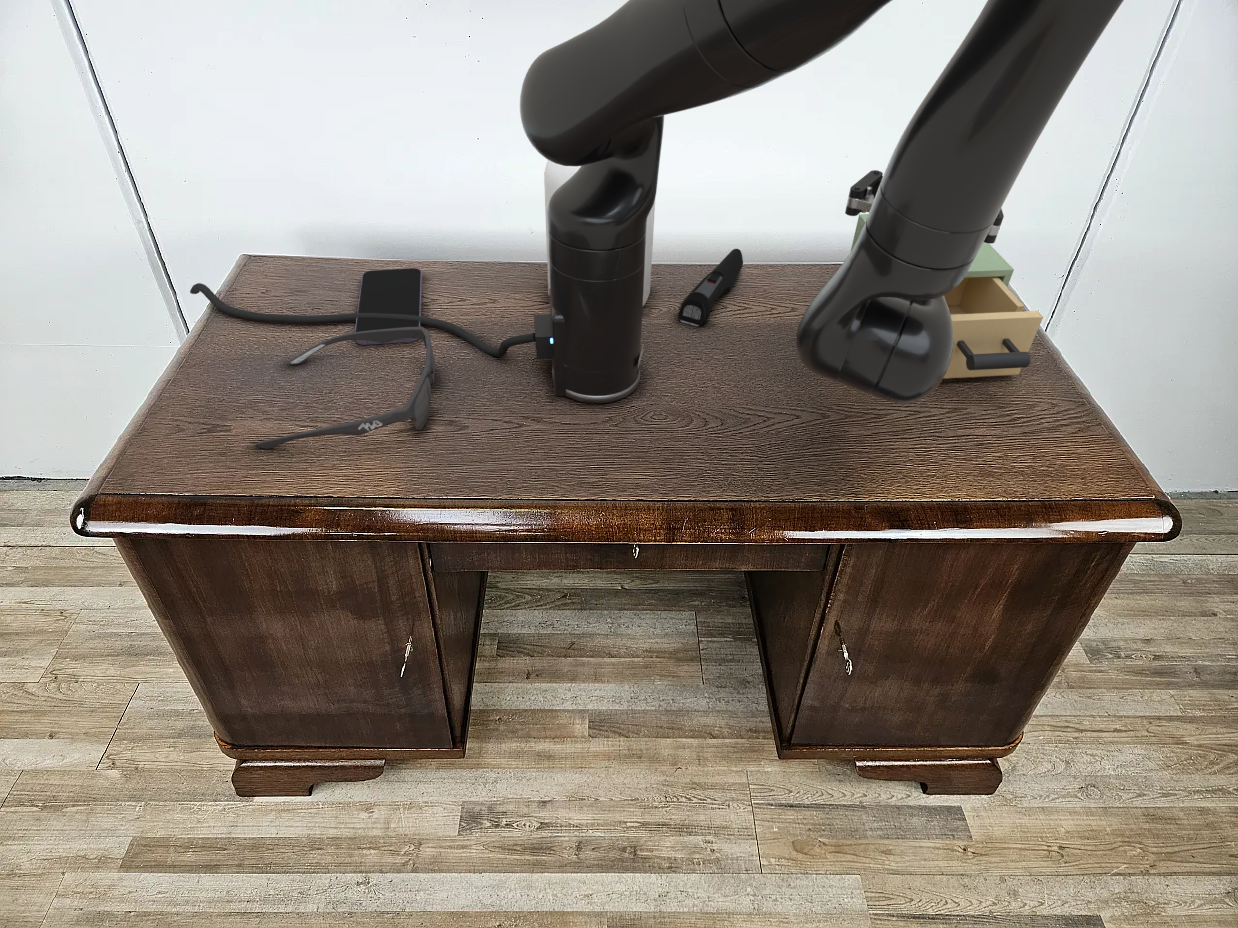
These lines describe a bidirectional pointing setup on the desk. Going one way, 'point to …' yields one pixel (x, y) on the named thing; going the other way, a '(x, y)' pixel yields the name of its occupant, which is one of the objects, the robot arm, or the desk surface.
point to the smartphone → (389, 300)
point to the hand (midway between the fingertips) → (935, 176)
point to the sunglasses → (412, 410)
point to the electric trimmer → (710, 290)
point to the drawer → (989, 329)
